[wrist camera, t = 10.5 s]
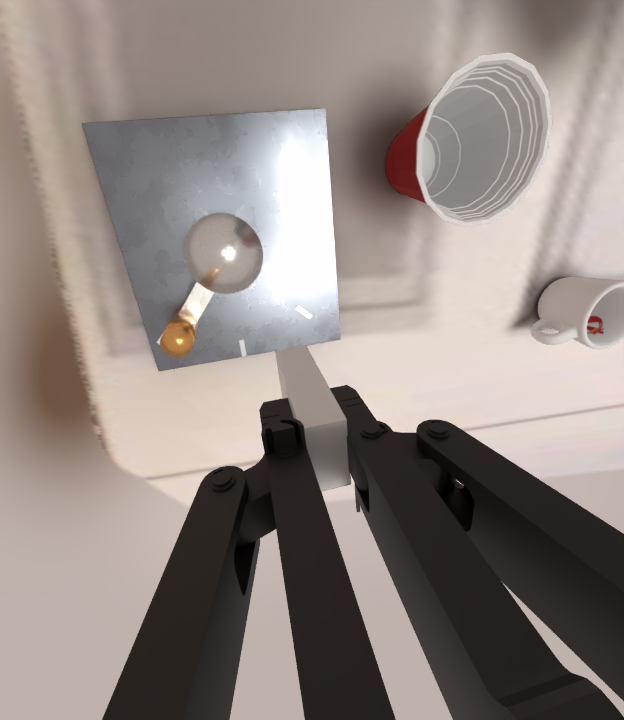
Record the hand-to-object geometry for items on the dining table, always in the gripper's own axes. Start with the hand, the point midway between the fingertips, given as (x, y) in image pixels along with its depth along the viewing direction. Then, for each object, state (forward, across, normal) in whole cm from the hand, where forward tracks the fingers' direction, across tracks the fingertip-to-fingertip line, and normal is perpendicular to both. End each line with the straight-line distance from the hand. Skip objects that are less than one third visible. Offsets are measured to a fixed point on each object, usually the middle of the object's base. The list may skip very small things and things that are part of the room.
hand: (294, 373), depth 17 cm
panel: (+22, -2, +4) cm, 23 cm away
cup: (+23, +37, -8) cm, 44 cm away
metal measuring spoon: (+20, -5, +1) cm, 21 cm away
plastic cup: (+23, +17, +10) cm, 30 cm away
